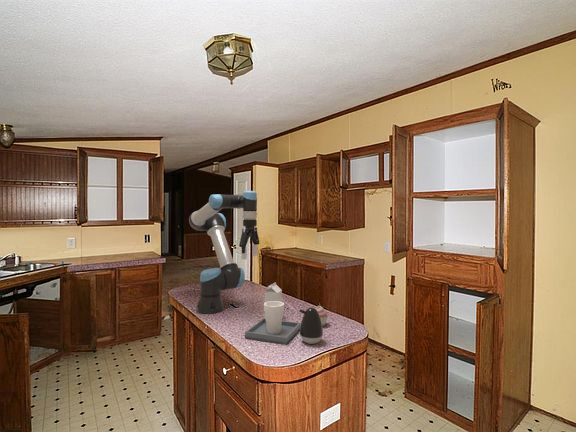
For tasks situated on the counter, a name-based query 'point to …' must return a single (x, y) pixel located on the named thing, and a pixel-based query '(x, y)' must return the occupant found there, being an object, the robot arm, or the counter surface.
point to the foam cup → (274, 316)
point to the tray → (283, 337)
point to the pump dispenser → (311, 326)
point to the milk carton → (273, 293)
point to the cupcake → (322, 314)
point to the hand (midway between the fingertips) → (249, 257)
